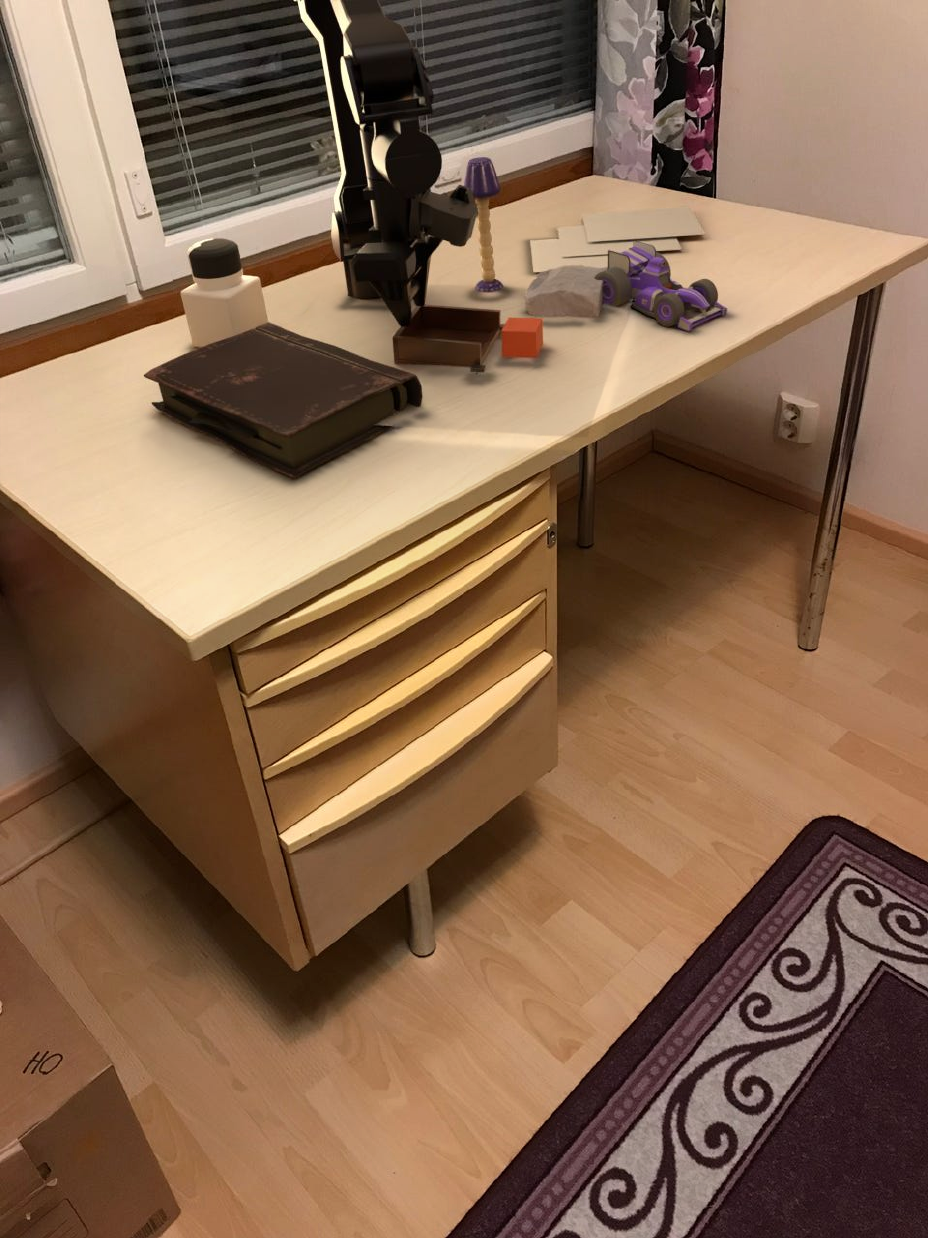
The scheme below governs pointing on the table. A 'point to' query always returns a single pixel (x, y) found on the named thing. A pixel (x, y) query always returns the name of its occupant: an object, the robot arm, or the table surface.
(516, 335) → the cube
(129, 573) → the table surface
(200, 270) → the medicine bottle
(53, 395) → the table surface
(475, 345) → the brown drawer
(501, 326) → the hinge brackets
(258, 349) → the diary
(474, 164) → the toy lamp
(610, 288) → the toy race car
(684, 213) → the paper stack
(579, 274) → the stone block
